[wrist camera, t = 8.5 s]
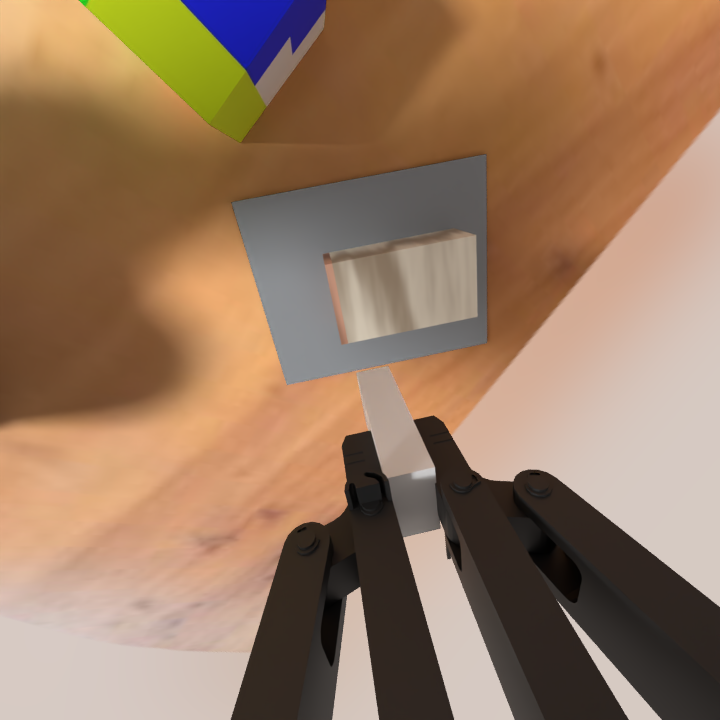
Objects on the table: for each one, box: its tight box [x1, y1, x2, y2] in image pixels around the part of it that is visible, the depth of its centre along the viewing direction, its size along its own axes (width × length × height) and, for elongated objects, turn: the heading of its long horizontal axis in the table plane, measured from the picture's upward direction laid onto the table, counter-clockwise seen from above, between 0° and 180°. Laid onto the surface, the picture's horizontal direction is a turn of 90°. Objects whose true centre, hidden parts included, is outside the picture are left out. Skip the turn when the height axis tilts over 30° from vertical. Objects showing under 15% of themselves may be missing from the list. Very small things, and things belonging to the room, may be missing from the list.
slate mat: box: [231, 154, 487, 385], centre depth 34 cm, size 22×18×1 cm
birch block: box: [323, 228, 478, 345], centre depth 32 cm, size 5×7×12 cm
